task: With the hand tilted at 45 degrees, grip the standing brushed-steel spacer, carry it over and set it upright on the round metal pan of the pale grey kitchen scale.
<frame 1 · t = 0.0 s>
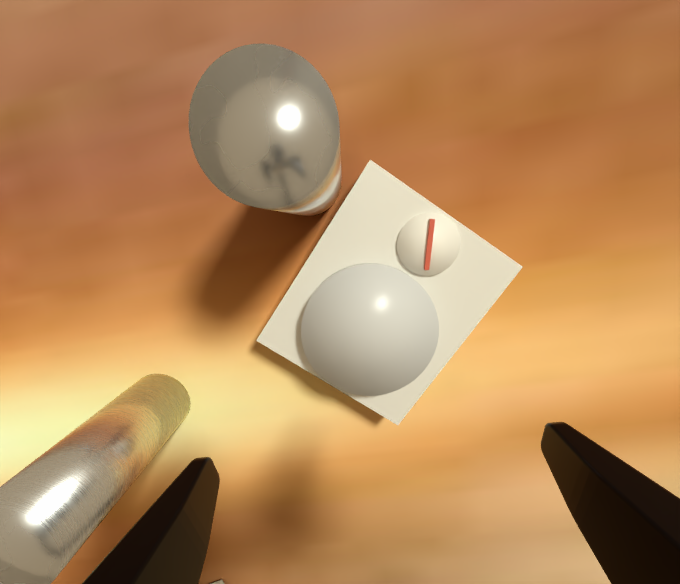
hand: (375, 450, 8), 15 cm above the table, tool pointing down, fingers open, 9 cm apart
spacer 2: (307, 180, 22), on the table
spacer: (160, 400, 25), on the table
scale: (381, 296, 23), on the table
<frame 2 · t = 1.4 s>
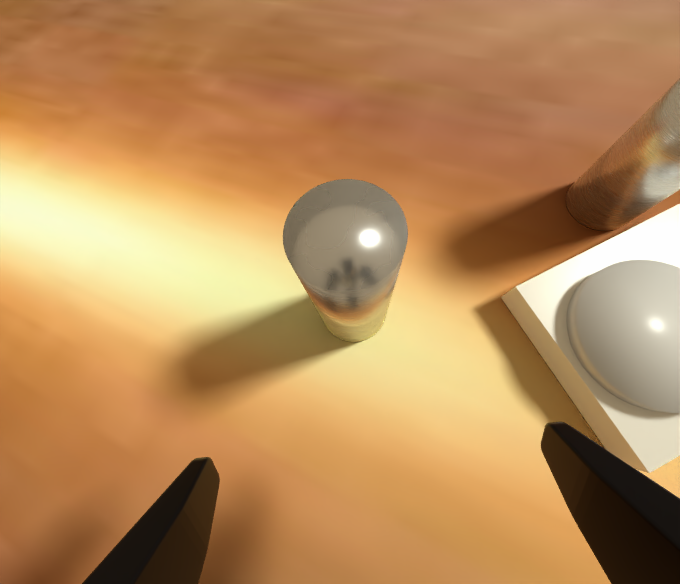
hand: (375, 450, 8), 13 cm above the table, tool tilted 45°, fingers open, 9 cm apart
spacer 2: (598, 203, 25), on the table
spacer: (353, 309, 23), on the table
scale: (639, 327, 22), on the table
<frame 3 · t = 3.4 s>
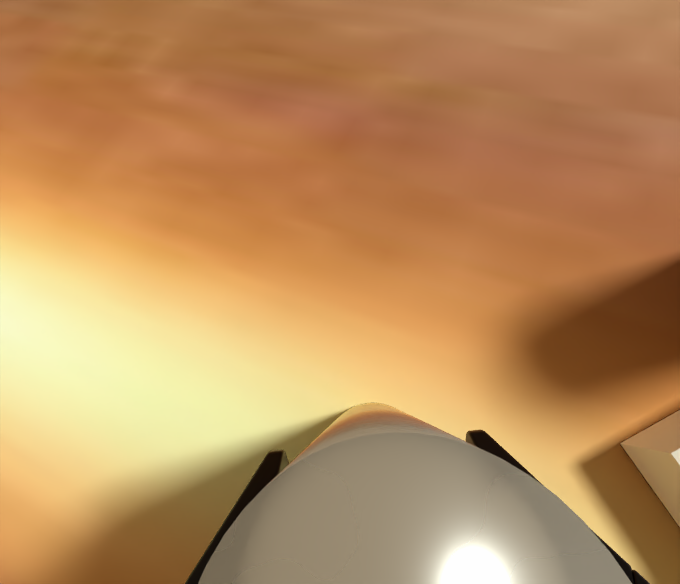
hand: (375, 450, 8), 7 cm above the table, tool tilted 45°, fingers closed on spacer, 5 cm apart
spacer: (374, 458, 14), on the table, touching gripper
when the fingers open (11 cm above the table, at t = 6.3 s): spacer stays where it is, resting on scale.
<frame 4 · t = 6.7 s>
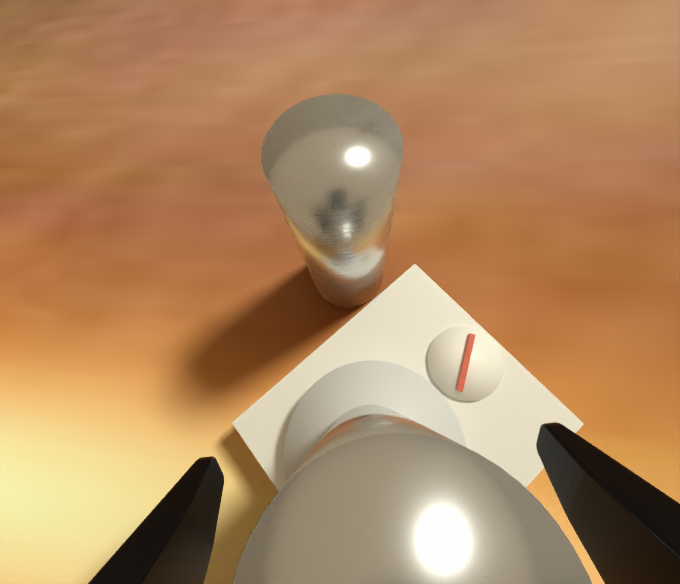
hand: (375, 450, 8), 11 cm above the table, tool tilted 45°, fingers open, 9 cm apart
spacer 2: (348, 274, 22), on the table
spacer: (372, 456, 15), point 3 cm above the table, touching scale
scale: (396, 419, 19), on the table
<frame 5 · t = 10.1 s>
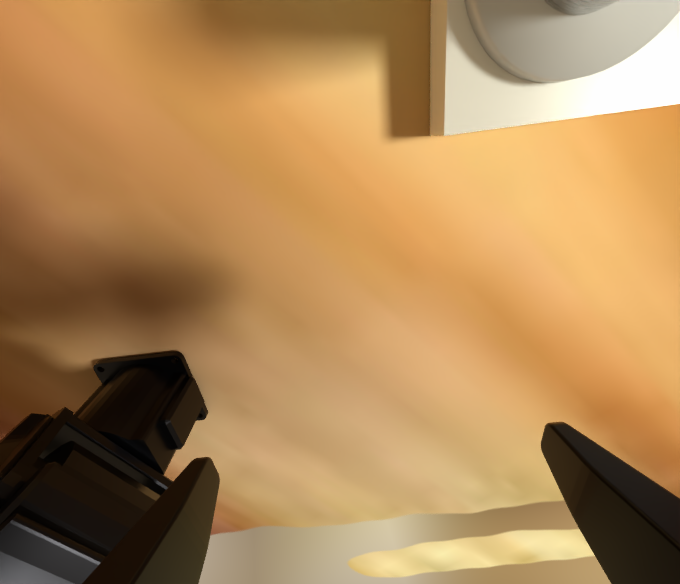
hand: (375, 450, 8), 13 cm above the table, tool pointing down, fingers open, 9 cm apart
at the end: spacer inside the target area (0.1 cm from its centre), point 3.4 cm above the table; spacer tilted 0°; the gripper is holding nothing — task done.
